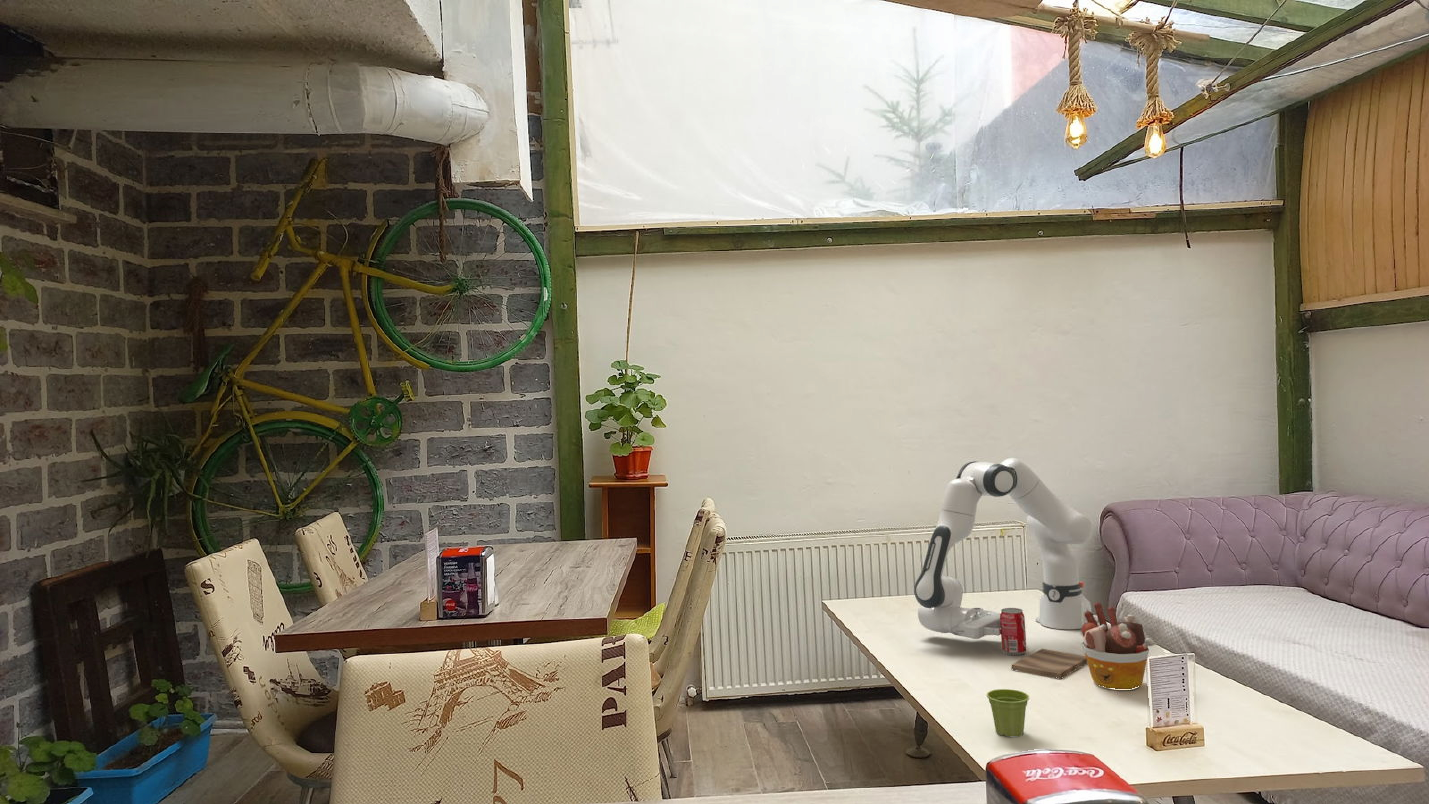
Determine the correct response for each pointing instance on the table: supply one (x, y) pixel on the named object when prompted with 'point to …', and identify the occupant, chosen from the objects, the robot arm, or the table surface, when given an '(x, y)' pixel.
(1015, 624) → the soda can
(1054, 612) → the robot arm
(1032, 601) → the table surface
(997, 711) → the plant pot
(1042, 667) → the walnut board
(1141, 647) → the bucket of meat
